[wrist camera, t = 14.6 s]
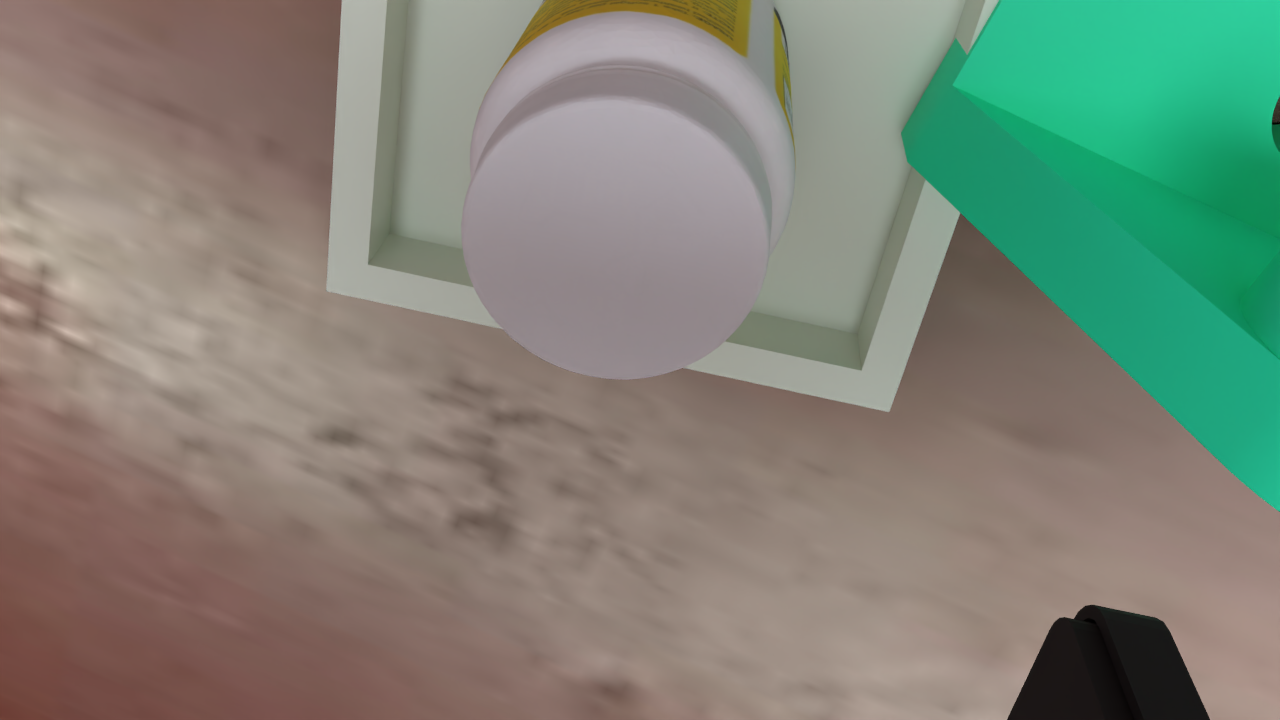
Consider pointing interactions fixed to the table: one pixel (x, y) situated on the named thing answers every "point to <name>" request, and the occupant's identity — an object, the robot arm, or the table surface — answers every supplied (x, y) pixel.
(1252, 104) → the camera mount
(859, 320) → the tray
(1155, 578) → the table surface
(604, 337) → the supplement bottle
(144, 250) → the table surface
